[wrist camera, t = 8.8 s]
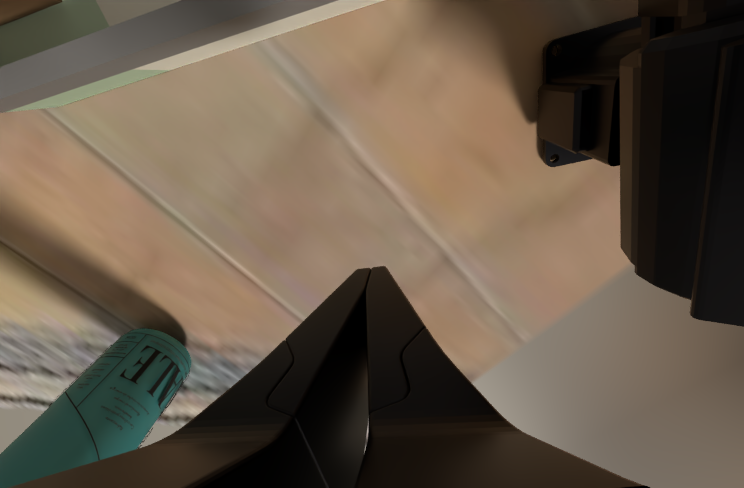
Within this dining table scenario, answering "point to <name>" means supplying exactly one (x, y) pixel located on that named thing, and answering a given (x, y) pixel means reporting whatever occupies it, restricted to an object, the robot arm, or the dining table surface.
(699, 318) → the robot arm
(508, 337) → the dining table surface
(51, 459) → the beverage bottle
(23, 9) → the walnut block
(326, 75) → the dining table surface
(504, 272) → the dining table surface
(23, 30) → the trap box
